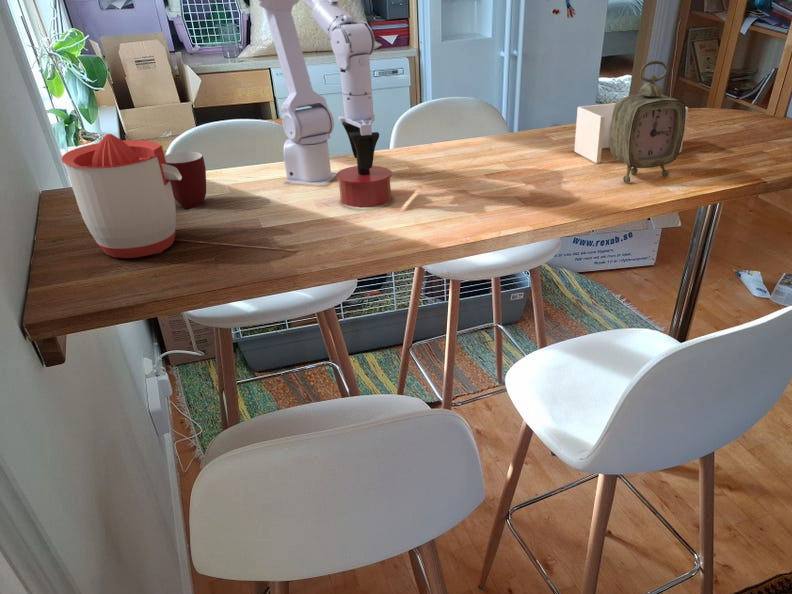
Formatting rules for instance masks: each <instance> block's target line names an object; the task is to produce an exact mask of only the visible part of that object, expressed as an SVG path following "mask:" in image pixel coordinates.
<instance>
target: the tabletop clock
mask: <svg viewBox="0 0 792 594" xmlns="http://www.w3.org/2000/svg"><path fill="white" fill-rule="evenodd" d="M652 65H661V66H663V68H664V73H663V74H662V75H661V76H659V77H656V75H655V74H651V75H650V78H646V77H644V76H643V72H644V70H645V69H646V68H647V67H649V66H652ZM667 73H668V65H667V64H666V63H665V62H664V61H662V60H650V61H648V62H646V63H645V64H644V65H643V66H642V67H641V69H640V71H639V77H640V79H641V80H642V81H644V82H646V83H644V84H643V85H642V86H641V87H640V89H639V91H638V93H637V94H631V95H627V96H624V97H622V98H620V99H618V100H617V101H616V102H615V103H616V104H615V106H614V110H613V114H612V121H611V127H610V148H609V150H610V155H611V157H612V158H613V159H615V160H617V161H619V162H620V163H621V162H622V163H623V164H625V165H627V168H626V175H624V176H623V179H622V180H623V182H624V183H625V184H628V183H630V181H631V176H630V174H631V175H633V176H634V175H637V174H638V172H639V170H638V169H650V168H652V169H653V168H656V167H660V168H661V170H662V172H661V175H662V177H664V178H667V177H669V175H670V171H669V170H668V169H666V168H665V165H669V164H671V163H673V162H674V161H676V160H677V158H678V156H679V154H680V153H679V151H680V147H681V144H682V139H683V140H684V137H683V134H684V135H685V131H684V128H685V129H686V125H685V118H686V108H685V107H686V103H685V102H684V101H682V100H679V99H677V98H673V97H670V96H667V95H664V94H663V89H662V86H661V85H660V84H658V83H656V82H660V81H661V80H663V79H664V78H665V77H666V75H667ZM682 145H683V144H682Z"/></svg>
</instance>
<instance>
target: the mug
mask: <svg viewBox="0 0 792 594" xmlns="http://www.w3.org/2000/svg"><path fill="white" fill-rule="evenodd" d="M164 156H165V160H166V164H167V165H170V166H173V167H176V168H177V169H178V171H179V173H180V174H181V176H182V179H181V180H170V183H171V187H172V191H173V196H174V200H175V202H177V203H178V204H179V205H180V206H181V208H183V209H184V210H185V209H186V210H190V209H193V208H195V207H198V206H202V205H203V204H204V202H205V199H206V195H207V169H206V163H205V158H204V155H203V154H202V153H201V152H198V151H177V152H172V153H168V154H164Z"/></svg>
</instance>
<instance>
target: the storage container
mask: <svg viewBox="0 0 792 594" xmlns="http://www.w3.org/2000/svg"><path fill="white" fill-rule="evenodd" d="M615 104H616V102H615V103H613V102H612V103H604V104H594V105H582V106H577V110H576V111H577V112H576V124H575V137H574V150H573V151H574V152H575V153H577V154H578V155H580V156H582V157H584V158H586V159H587V160H590V161H592V162H593V163H595V164H600V163H601V160H602V153H603V152H602V151H603V149H610V127H611V121H612V114H613V110H614V106H615ZM685 108H686V118H685V126H686V125H687V117H688V113H689V112H688V111H689V107H687V106H685ZM685 131H686V127H685V128H684V132H685ZM684 136H685V133H684V134H683V139H682V144H681V147H680V151H679V154H680V153H682V151H683V143H684Z"/></svg>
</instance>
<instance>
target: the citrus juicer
mask: <svg viewBox="0 0 792 594" xmlns="http://www.w3.org/2000/svg"><path fill="white" fill-rule="evenodd" d="M61 162H62V163H63V164H64V166H65V169H66V173H67V175H68V178H69V181H70V184H71V188H72V191H73V194H74V197H75V201H76V204H77V206H78V210H79V212H80V215H81V217H82V220H83V222H84V224H85V225H86V228H87V229H88V231H89V233H90V234H91V236H92V238H93V239H94V240H95V243H96V244H97V245H98V247H99V248H100V249H101V250H102V251H103V252H104V253H105V254H106V255H107V256H109V257H112V258H114V259H131V258H133V259H134V258H141V257H147V256H152V255H157V254H161V253H163V252H164V251H165V250H167V249H169V247H171V246H172V245H173V244H174V243H175V237H176V234H177V233H176V232H177V231H176V230H177V228H176V224H177V211H176V210H177V209H176V200H175V198H174V196H173V191H172V187H171V183H170V180H181V179H182V176H181V174H180V173H179V171H178V169H177V168H176V167H173V166H170V165H167V164H166V160H165V153H164V148H163V145H162V144H161V143H158V142H156V141H151V140H141V139H139V140H138V139H126V140H125V139H124V140H122V139H121V138H119V137H117V136H115V135H114V134H112V133H107V134H105V135H104V136H103V137H102V138H101V140H100V142H96V143H91V144H87V145H83V146H80V147H77V148H73V149H71V150H69V151H67V152H66V153H64V154H63V155H62V157H61Z"/></svg>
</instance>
